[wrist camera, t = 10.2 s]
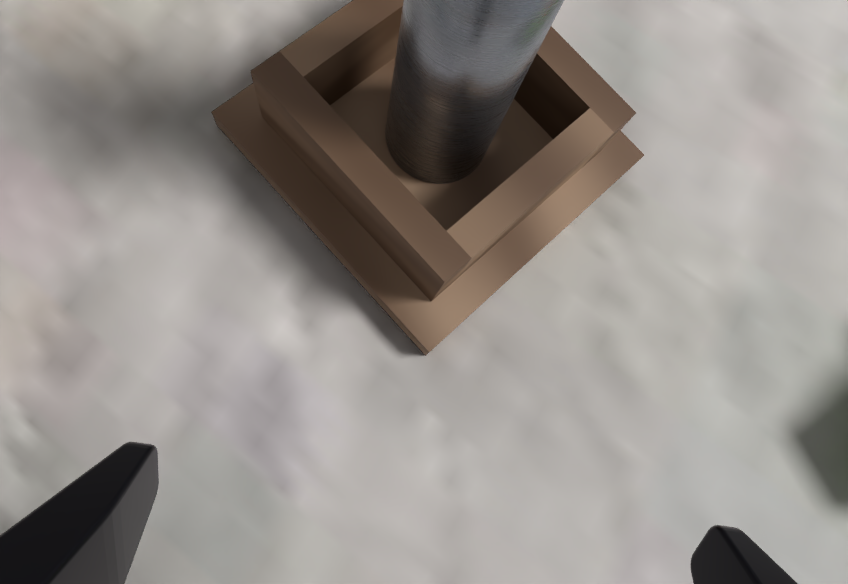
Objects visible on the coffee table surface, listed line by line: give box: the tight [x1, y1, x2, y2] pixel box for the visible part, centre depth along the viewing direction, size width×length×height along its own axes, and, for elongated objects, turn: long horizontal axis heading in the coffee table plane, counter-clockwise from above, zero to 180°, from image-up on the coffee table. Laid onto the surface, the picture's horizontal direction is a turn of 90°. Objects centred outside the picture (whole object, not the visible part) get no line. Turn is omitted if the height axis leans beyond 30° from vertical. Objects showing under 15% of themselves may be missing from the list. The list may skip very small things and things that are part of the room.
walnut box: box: [212, 0, 644, 356], centre depth 23 cm, size 12×12×4 cm
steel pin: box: [385, 0, 564, 184], centre depth 17 cm, size 4×4×13 cm
